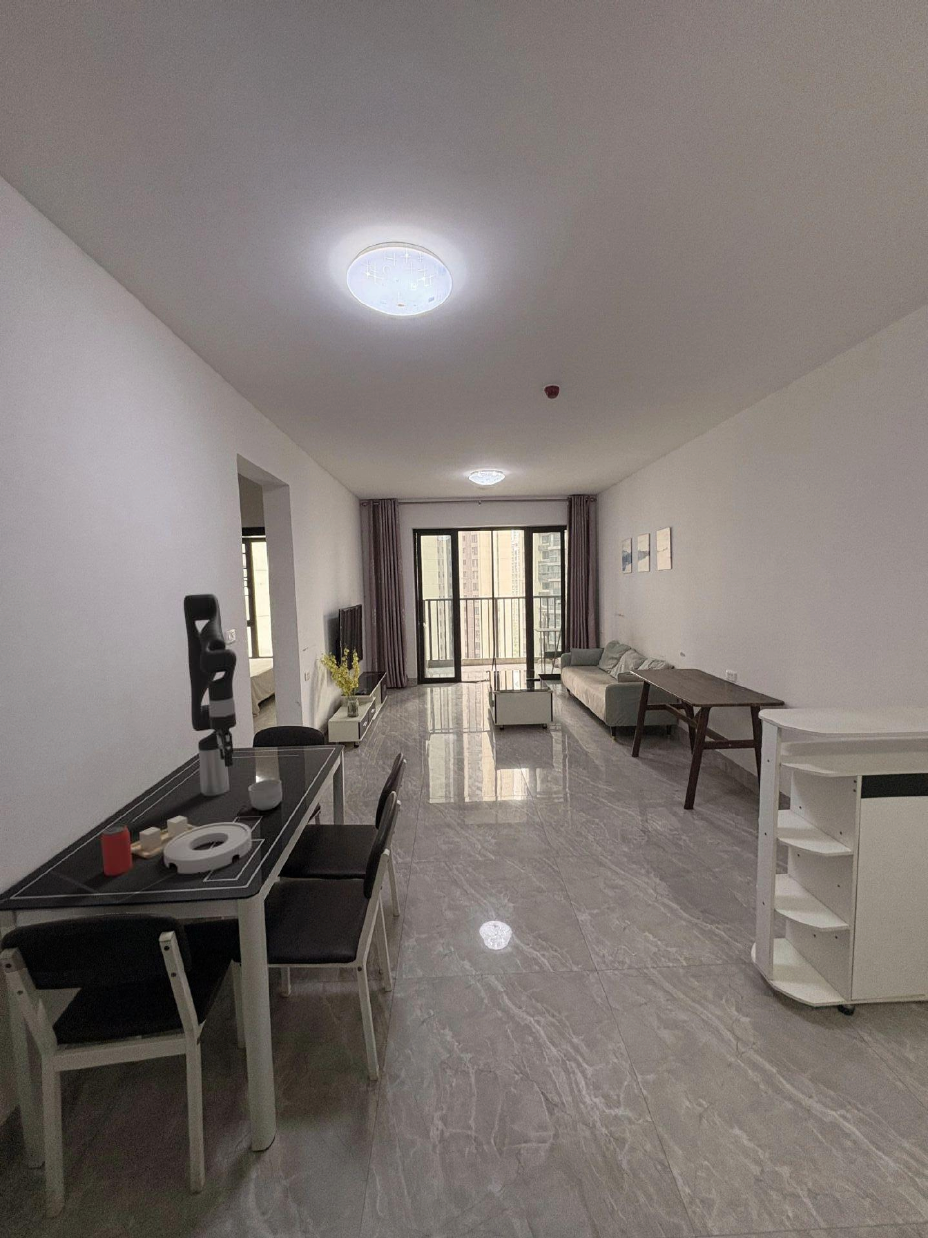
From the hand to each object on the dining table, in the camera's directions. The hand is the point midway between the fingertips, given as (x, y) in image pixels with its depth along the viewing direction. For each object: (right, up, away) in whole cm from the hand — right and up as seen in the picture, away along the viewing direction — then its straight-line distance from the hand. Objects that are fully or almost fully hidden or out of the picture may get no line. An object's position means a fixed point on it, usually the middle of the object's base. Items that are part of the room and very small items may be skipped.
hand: (226, 762), depth 175 cm
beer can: (-20, -24, -23) cm, 39 cm away
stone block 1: (-17, -22, -12) cm, 30 cm away
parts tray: (-15, -22, -8) cm, 28 cm away
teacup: (+7, -20, +17) cm, 27 cm away
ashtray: (+2, -23, -15) cm, 27 cm away
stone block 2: (-13, -21, -4) cm, 25 cm away
